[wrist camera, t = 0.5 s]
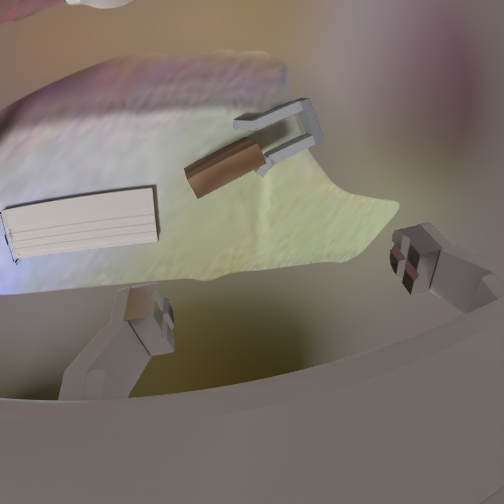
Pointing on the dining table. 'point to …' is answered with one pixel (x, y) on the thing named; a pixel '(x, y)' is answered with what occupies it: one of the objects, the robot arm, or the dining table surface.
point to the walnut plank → (224, 166)
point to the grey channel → (294, 145)
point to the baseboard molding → (82, 223)
